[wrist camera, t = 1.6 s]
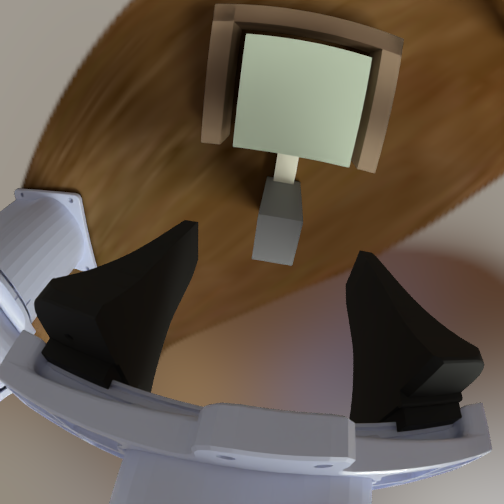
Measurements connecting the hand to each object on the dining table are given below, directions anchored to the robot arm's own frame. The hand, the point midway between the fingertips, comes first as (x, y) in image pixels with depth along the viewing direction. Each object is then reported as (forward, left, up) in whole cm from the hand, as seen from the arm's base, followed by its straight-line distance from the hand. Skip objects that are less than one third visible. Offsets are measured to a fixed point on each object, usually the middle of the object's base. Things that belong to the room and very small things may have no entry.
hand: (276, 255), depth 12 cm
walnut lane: (0, +6, -6) cm, 9 cm away
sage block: (0, +4, -6) cm, 7 cm away
